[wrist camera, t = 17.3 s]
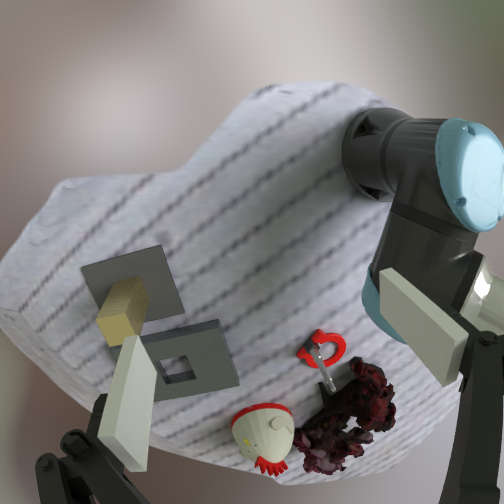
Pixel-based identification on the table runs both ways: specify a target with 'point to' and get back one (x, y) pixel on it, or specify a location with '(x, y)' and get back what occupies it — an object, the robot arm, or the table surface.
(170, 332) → the socket plate
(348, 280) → the table surface
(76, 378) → the table surface
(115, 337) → the brass plug
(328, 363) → the tow hook
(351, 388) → the flower arrangement
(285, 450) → the kitchen timer
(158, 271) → the rubber mat
